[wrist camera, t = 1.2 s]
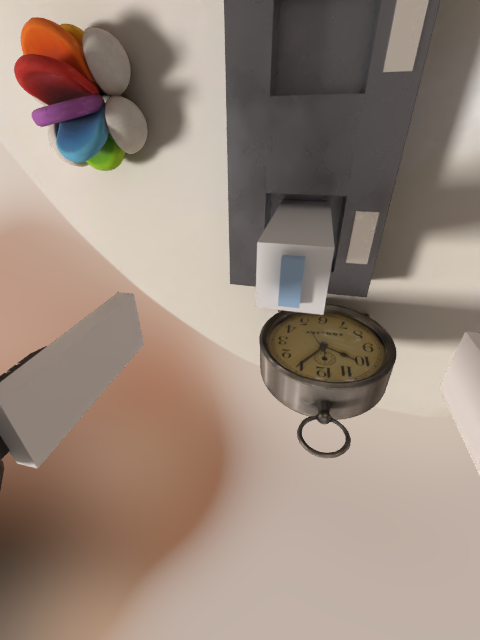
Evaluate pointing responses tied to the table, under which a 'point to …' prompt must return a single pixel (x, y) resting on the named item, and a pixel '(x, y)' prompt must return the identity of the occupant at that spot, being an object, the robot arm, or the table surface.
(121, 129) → the rainbow petal toy
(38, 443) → the robot arm
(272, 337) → the alarm clock
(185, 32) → the table surface
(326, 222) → the plug
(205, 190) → the table surface
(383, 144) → the panel
